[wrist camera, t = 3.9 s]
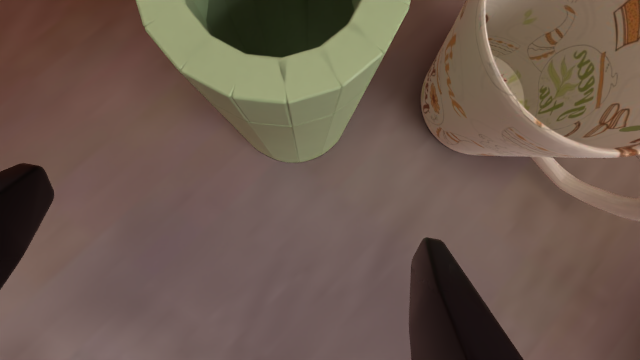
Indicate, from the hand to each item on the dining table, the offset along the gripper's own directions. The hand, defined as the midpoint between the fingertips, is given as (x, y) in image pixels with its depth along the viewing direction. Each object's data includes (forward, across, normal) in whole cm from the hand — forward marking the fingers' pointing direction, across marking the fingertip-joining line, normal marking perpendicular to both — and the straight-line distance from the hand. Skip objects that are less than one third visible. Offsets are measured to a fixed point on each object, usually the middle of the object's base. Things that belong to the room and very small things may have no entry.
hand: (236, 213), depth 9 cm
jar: (+12, 0, +4) cm, 13 cm away
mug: (+13, -11, +4) cm, 18 cm away
